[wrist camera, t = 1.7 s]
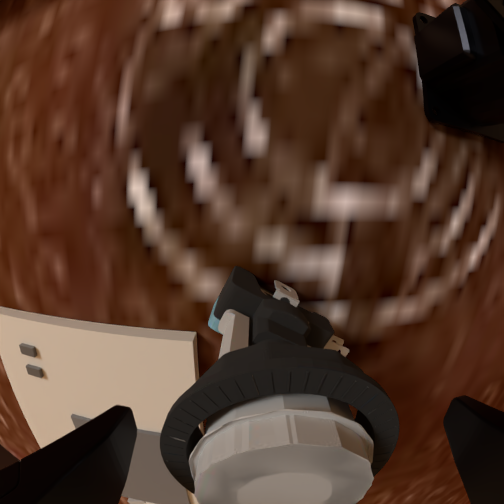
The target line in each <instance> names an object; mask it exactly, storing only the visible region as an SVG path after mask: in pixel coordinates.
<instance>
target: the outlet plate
mask: <svg viewBox="0 0 504 504" xmlns="http://www.w3.org/2000/svg"><path fill="white" fill-rule="evenodd" d="M0 355H1V358H2V361H3V364H4V367H5V370H6V373H7V375H8V378H9V381H10V383H11V386H12V388H13V391H14V393H15V396H16V398H17V400H18V403H19V405H20V407H21V409H22V412H23V414H24V416H25V418H26V420H27V422H28V424H29V426H30V428H31V430H32V432H33V434H34V436H35V438H36V440H37V442H38V444H39V446H40V447H41V448H43V447H45V446H46V445H48V444H50V443H52V442H54V441H55V440H57V439H59V438H61V437H62V436H64V435H66V434H68V433H69V432H71V431H73V430H75V429H76V428H78V427H80V426H81V425H83V424H85V423H86V422H88V421H90V420H92V419H93V418H95V417H97V416H98V415H100V414H101V413H103V412H105V411H106V410H108V409H110V408H111V407H113V406H115V405H122V406H128V407H130V408H131V409H132V411H133V415H134V419H135V422H136V426H137V438H136V442H135V446H134V451H133V455H132V459H131V464H130V468H129V473H128V477H127V481H126V484H125V487H124V489H123V492H122V495H121V496H124V497H128V498H132V499H136V500H141V501H145V502H150V503H155V504H199V503H198V502H197V498H196V497H195V496H194V494H193V493H191V492H190V491H189V490H187V489H186V488H184V487H183V486H182V485H181V484H180V483H179V482H178V481H177V480H176V479H175V478H174V477H173V476H172V475H171V473H170V472H169V470H168V469H167V467H166V465H165V463H164V461H163V458H162V456H161V451H160V435H161V431H162V428H163V425H164V422H165V420H166V417H167V414H168V412H169V411H170V409H171V407H172V405H173V404H174V403H175V402H176V400H177V399H178V398H179V397H180V396H181V395H182V394H183V393H184V392H185V391H186V390H188V389H189V388H190V387H191V386H192V385H193V384H194V383H195V382H196V381H197V380H198V379H199V368H198V352H197V335H196V332H188V331H174V330H161V329H150V328H139V327H129V326H120V325H111V324H103V323H95V322H88V321H80V320H73V319H67V318H60V317H54V316H48V315H42V314H36V313H31V312H25V311H20V310H15V309H10V308H5V307H0ZM199 428H200V430H201V432H202V434H203V436H204V427H203V421H202V422H201V423H200V424H199Z"/></svg>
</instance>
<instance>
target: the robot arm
mask: <svg viewBox="0 0 504 504" xmlns="http://www.w3.org/2000/svg"><path fill="white" fill-rule="evenodd" d="M420 19H421V20H422V21H423V22H424V23H423V22H422V21H421V20H420ZM413 24H414V29H415V36H414V39H415V45H416V51H417V58H418V66H419V75H420V77H421V79H422V87H423V98H424V111H425V115H426V117H427V119H428V120H429V121H431V122H433V123H437V124H441V125H445V126H449V127H453V128H457V129H460V130H464V131H467V132H471V133H474V134H477V135H480V136H484V137H487V138H490V139H493V140H496V141H499V142H501V143H504V0H467V1H465V2H464V3H463V4H461V5H459V4H457V3H454V4H452V5H451V6H450V7H448V8H447V9H446V10H445V11H444V12H442V13H441V14H440V15H439V16H438V17H436V18H435V17H432V16H429V15H427V14H424V13H420V12H419V13H417V14H416V15H415V16H414V17H413ZM433 109H434V110H435V111H436V114H437V115H436V116H435V115H434V114H433V111H432V110H433ZM443 423H444V428H445V431H446V434H447V437H448V440H449V444H450V447H451V450H452V454H453V457H454V460H455V463H456V466H457V469H458V471H459V474H460V476H461V479H462V481H463V484H464V487H465V489H466V492H467V494H468V497H469V500H470V503H471V504H504V412H502V411H499V410H497V409H495V408H493V407H490V406H488V405H486V404H484V403H481V402H479V401H477V400H475V399H472V398H470V397H468V396H465V395H464V396H459V397H456V398H454V399H453V400H452V401H451V404H450V406H449V408H448V410H447V413H446V415H445V417H444V422H443ZM136 438H137V426H136V422H135V419H134V415H133V411H132V409H131V408H130V407H128V406H122V405H115V406H113V407H111V408H110V409H108V410H106V411H105V412H103V413H101V414H100V415H98V416H97V417H95V418H93V419H92V420H90V421H88V422H86V423H85V424H83V425H81V426H80V427H78V428H76V429H75V430H73V431H71V432H69V433H68V434H66V435H64V436H62V437H61V438H59V439H57V440H55V441H54V442H52V443H50V444H48V445H46V446H45V447H43V448H41V449H39V450H37V451H36V452H34V453H32V454H30V455H28V456H26V457H24V458H23V459H21V461H17V462H15V463H13V464H11V465H9V466H7V467H5V468H3V469H1V470H0V504H118V503H119V501H120V498H121V495H122V492H123V489H124V487H125V484H126V481H127V477H128V473H129V468H130V464H131V459H132V455H133V451H134V446H135V442H136Z"/></svg>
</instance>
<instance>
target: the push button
mask: <svg viewBox="0 0 504 504" xmlns="http://www.w3.org/2000/svg"><path fill="white" fill-rule="evenodd" d="M274 285H275V289H276V291H275V293H272V292H270V291H268V290H266V289H264V288H262V287H260V286H259V284H258V282H257V280H256V278H255V276H254V275H253V274H252V273H250V272H249V271H247V270H245V269H243V268H241V267H238V266H235V267H234V269H233V271H232V273H231V275H230V276H229V278H228V280H227V282H226V284H225V286H224V287H223V289H222V291H221V293H220V295H219V297H218V298H217V300H216V302H215V304H214V306H213V310H212V313H211V316H210V319H209V322H208V325H209V326H210V328H212V329H213V330H215V331H217V332H219V333H221V334H223V339H222V344H221V349H220V354H219V359H218V360H217V361H216V362H215V363H214V364H213V365H212V366H211V367H210V368H209V369H208V370H207V371H206V372H205V373H204V374H203V375H202V376H201V377H200V378H199V379H198V380H197V381H196V382H195V383H194V384H193V385H192V386H191V387H190V388H189V389H188V390H186V391H185V392H184V393H183V394H182V395H181V396H180V397H179V398H178V399H177V400H176V402H175V403H174V404H173V405H172V407H171V409H170V411H169V412H168V414H167V417H166V420H165V422H164V425H163V428H162V431H161V435H160V451H161V456H162V458H163V461H164V463H165V465H166V467H167V469H168V470H169V472H170V473H171V475H172V476H173V477H174V478H175V479H176V480H177V481H178V482H179V483H180V484H181V485H182V486H183V487H184V488H186V489H187V490H189V491H190V492H191V493H193V494H194V496H195V497H196V498H197V502H198V503H199V504H356V503H357V502H358V501H359V500H361V499H362V498H363V497H364V495H365V493H366V492H367V490H368V489H369V488H370V487H371V485H372V481H373V479H374V476H375V475H376V474H377V473H378V472H379V471H380V470H381V469H382V468H383V466H384V465H385V464H386V462H387V461H388V460H389V458H390V456H391V455H392V453H393V451H394V449H395V446H396V443H397V440H398V436H399V419H398V414H397V412H396V409H395V407H394V405H393V403H392V402H391V400H390V398H389V397H388V395H387V393H386V392H385V390H384V389H383V388H382V387H381V386H380V385H379V384H378V383H377V382H376V381H375V380H373V379H372V378H371V377H369V376H368V375H366V374H364V373H363V371H362V370H361V369H360V368H359V367H358V366H356V365H355V364H354V363H352V362H351V361H350V360H348V359H347V358H346V355H347V354H348V353H349V349H348V348H346V347H343V346H342V345H343V344H344V340H343V339H341V338H339V337H337V336H334V335H333V334H334V330H333V328H332V326H331V325H330V323H329V321H328V320H327V319H326V318H325V317H323V316H322V315H320V314H318V313H315V312H313V313H311V312H309V311H307V310H305V309H303V308H301V307H299V306H297V305H298V304H299V300H298V296H297V293H296V291H295V290H294V289H292V288H291V287H289V286H287V285H285V284H283V283H281V282H279V281H276V280H275V281H274ZM283 287H284V288H286V289H287V290H289V291H287V290H285V289H284V288H283ZM332 340H335V341H336V343H335V342H333V341H332ZM339 350H341V353H339V352H338V351H339ZM348 404H350V405H352V406H354V407H355V408H357V409H358V411H357V415H356V418H355V420H354V418H353V416H352V413H351V410H350V408H349V405H348ZM206 418H207V422H206V428H205V434H204V436H203V434H202V432H201V430H200V428H199V424H200V423H201V422H202V421H204V420H205V419H206Z"/></svg>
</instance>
